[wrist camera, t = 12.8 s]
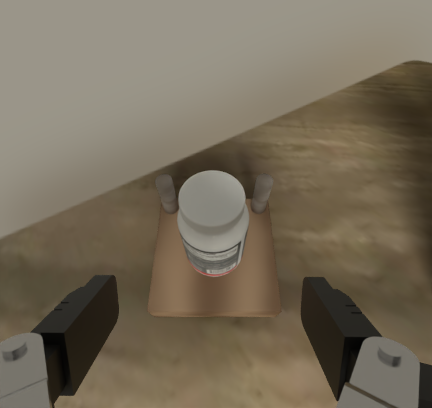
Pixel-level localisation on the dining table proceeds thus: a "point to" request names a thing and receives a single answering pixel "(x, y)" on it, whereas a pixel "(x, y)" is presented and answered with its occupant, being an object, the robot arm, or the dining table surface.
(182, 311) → the stand
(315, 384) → the dining table surface
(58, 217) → the dining table surface
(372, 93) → the dining table surface
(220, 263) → the pill bottle
